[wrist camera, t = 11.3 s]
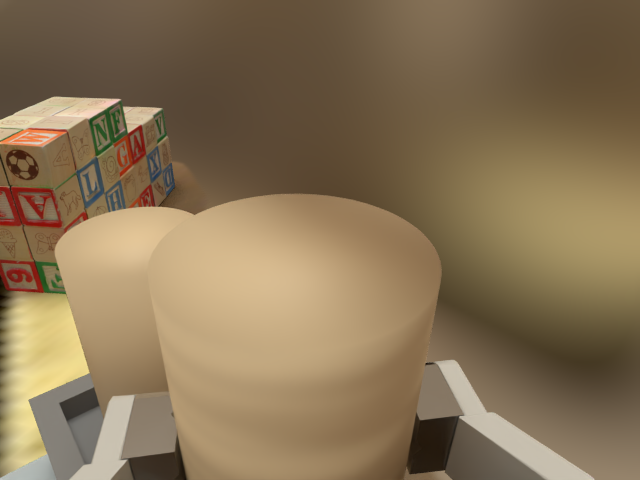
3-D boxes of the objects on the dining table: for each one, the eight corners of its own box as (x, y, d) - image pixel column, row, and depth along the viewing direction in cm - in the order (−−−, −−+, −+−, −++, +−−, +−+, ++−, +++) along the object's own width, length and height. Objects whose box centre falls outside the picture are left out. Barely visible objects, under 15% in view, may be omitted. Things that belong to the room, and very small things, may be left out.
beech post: (275, 736, 10) (252, 415, 5) (177, 548, 13) (103, 238, 8) (421, 576, 13) (501, 265, 8) (310, 452, 16) (316, 176, 11)
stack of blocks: (123, 184, 54) (102, 75, 48) (176, 187, 54) (161, 78, 48) (4, 293, 36) (-55, 137, 30) (83, 298, 36) (40, 142, 30)
